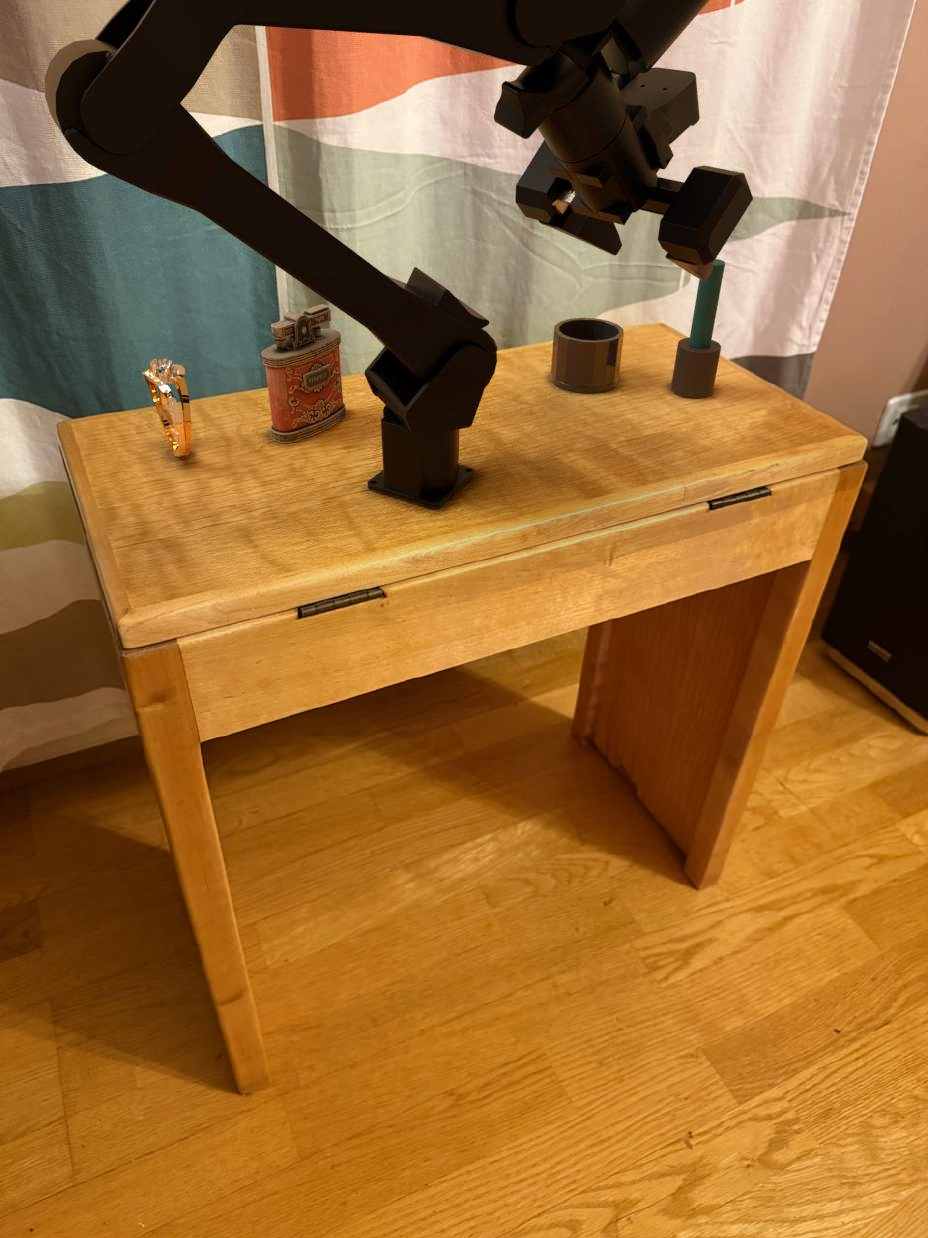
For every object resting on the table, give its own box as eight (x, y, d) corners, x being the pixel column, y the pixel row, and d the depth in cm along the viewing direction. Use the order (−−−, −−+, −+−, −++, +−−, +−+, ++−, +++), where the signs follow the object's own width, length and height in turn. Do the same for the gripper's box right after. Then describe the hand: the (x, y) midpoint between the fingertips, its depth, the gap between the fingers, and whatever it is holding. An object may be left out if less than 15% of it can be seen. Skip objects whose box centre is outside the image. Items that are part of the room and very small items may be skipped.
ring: (151, 441, 78) (131, 349, 73) (189, 433, 79) (172, 343, 74) (169, 476, 73) (149, 381, 68) (209, 468, 74) (192, 374, 70)
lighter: (290, 446, 78) (277, 330, 72) (262, 435, 79) (247, 321, 73) (354, 415, 83) (347, 304, 77) (327, 405, 84) (318, 296, 78)
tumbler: (602, 398, 86) (608, 346, 83) (539, 384, 89) (542, 333, 86) (627, 374, 91) (633, 325, 88) (566, 361, 94) (570, 313, 91)
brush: (705, 401, 86) (729, 271, 79) (665, 392, 88) (684, 263, 80) (718, 386, 89) (742, 259, 82) (678, 378, 90) (698, 252, 83)
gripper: (769, 36, 57) (815, 199, 70) (550, 15, 68) (624, 160, 81) (673, 189, 58) (737, 324, 71) (471, 144, 69) (557, 268, 81)
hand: (661, 262), depth 76 cm, fingers open, 9 cm apart
